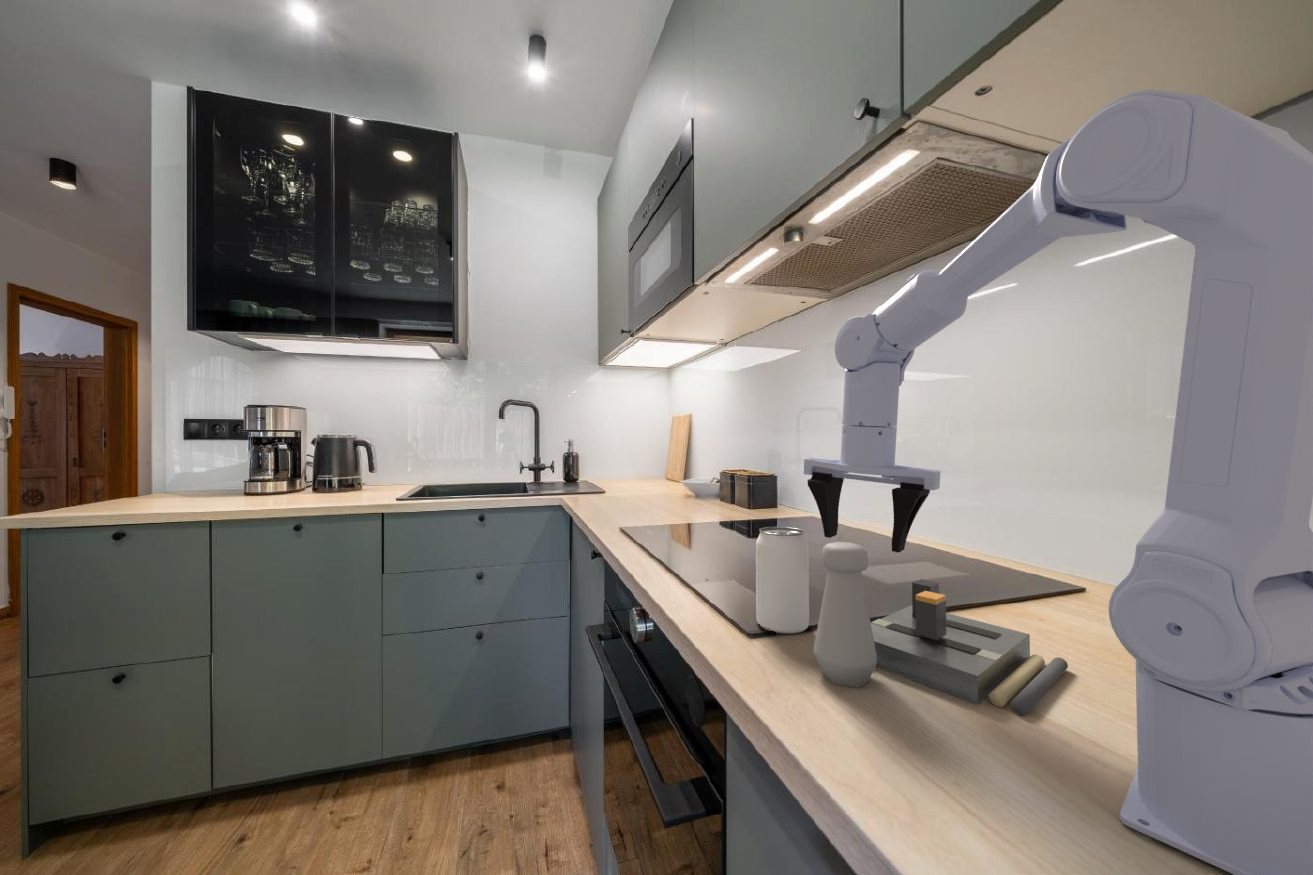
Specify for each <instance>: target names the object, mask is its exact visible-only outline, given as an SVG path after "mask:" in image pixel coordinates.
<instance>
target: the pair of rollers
mask: <svg viewBox="0 0 1313 875" xmlns="http://www.w3.org/2000/svg"><path fill="white" fill-rule="evenodd" d="M1045 664H1046V660H1045V658H1043V657H1042V656H1041V655H1039V654H1031V655H1030V658H1028V659H1027V660H1026V661H1025V662H1024V663H1023V664H1022V665H1021V666H1020V667H1018V668H1017V669H1016V670H1015V671H1014V672H1013V673H1012V674H1011V675H1010V676H1008V677H1007V678H1006V679H1005V680H1004V681H1003V682H1002V683H1001V684H1000V685H998V686H997V687H996V688H995V689H994V690H993V691H992V692H991V693H990V694H989V695H988V699H989V702H990V703H991V704H992V705H993V706H995V707H997V708H1003V707H1004V706H1005V705H1007V703H1008V702H1009V701H1010V700H1011V699H1012V698H1013V697H1014V696H1015V695H1016V694H1017V693H1018V692H1019V694H1017V695H1016V696H1015V697H1014V698H1013V699H1012V700H1011V701H1010V707H1011V710H1012V711H1013V712H1014V713H1015V714H1017V715H1019V716H1026V715H1027V714H1028V713H1029V712H1030V711H1031V710H1032V709H1033V708H1034V706H1036V704H1037V703H1038V702H1039V700H1040V699H1042V697H1043V696H1044V695H1045V694H1046V693H1047V692H1048V691H1049V690H1050V688H1051V687H1052V686H1053V685H1054V684H1055V683H1056V682H1057V680H1058V679H1059V678H1060V677H1061V676H1062V675H1063V674H1064V672H1065V671H1066V670H1067V669H1068V667H1069V664H1068V661H1066V659H1064V658H1063V657H1060V656H1059V657H1058V656H1057V657H1054V658H1053V659H1052V660H1050V662H1049V663H1048V664H1047V665H1046V666H1045ZM1044 666H1045V667H1044ZM1043 667H1044V668H1043ZM1042 668H1043V669H1042ZM1041 669H1042V670H1041ZM1040 670H1041V671H1040ZM1038 672H1039V673H1038ZM1037 673H1038V674H1037ZM1036 674H1037V675H1036ZM1035 675H1036V676H1035ZM1034 676H1035V677H1034ZM1032 678H1033V679H1032ZM1031 679H1032V680H1031ZM1029 681H1030V682H1029ZM1028 682H1029V683H1028ZM1027 683H1028V684H1027ZM1026 684H1027V685H1026ZM1025 685H1026V686H1025ZM1024 686H1025V687H1024ZM1023 687H1024V688H1023ZM1022 688H1023V689H1022ZM1021 689H1022V690H1021Z"/></svg>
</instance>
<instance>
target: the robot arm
mask: <svg viewBox="0 0 1313 875" xmlns="http://www.w3.org/2000/svg"><path fill="white" fill-rule="evenodd" d="M1126 216H1127V217H1130V218H1135V219H1140V220H1141V221H1143V222H1144V223H1146V224H1149V225H1152V226H1155V227H1158V228H1159V229H1162V230H1164V231H1166V232H1168V233H1170V234H1172V235H1174V236H1176V237H1178V238H1181V239H1183V240H1184V241H1187V242H1188V243H1190V244H1192V245H1193V247H1194V250H1195V251H1194V258H1193V265H1192V266H1193V267H1192V275H1191V281H1190V282H1191V284H1190V291H1189V299H1188V308H1187V309H1188V310H1187V316H1186V317H1187V318H1186V325H1185V326H1186V327H1185V333H1184V341H1183V342H1184V343H1183V350H1182V359H1181V368H1180V376H1179V385H1178V392H1177V393H1178V394H1177V400H1176V401H1177V402H1176V409H1175V417H1174V418H1175V419H1174V425H1173V426H1174V427H1173V435H1172V443H1171V450H1170V451H1171V452H1170V459H1169V468H1168V470H1169V471H1168V478H1167V484H1166V486H1167V487H1166V494H1165V502H1164V508H1163V510H1162V511H1161V513H1160V514H1159V516H1158V517H1157V519H1156V520H1155V521H1154V522H1153V523H1152V524H1151V525H1150V527H1149V528H1148V529H1147V530H1146V532H1144V534H1143V535H1142V537H1141V538H1140V539H1139V541H1138V542H1137V544H1136V546H1135V552H1134V553H1135V554H1134V560H1133V565H1132V567H1131V569H1130V571H1129V572H1128V574H1127V575H1126V577H1125V578H1124V579H1122V581H1121V582H1120V583H1118V584H1117V585H1116V586H1115V587H1114V589H1113V591H1112V592H1111V595H1110V598H1109V602H1108V617H1109V621H1110V624H1111V627H1112V631H1113V632H1114V635H1115V636H1116V638H1117V639H1118V641H1119V643H1121V645H1122V646H1123V648H1124V649H1125V650H1126V652H1128V654H1129V655H1130V656H1131V657H1133V658H1134V659H1135V692H1136V694H1135V696H1136V697H1135V698H1136V739H1137V740H1136V742H1137V743H1136V745H1137V767H1136V770H1135V773H1134V774H1133V778H1132V780H1131V783H1130V785H1129V789H1128V791H1127V794H1126V796H1125V799H1124V801H1123V803H1122V806H1121V809H1120V811H1119V820H1120V821H1121V822H1122V823H1123V824H1124V825H1126V826H1127V827H1128V828H1131V829H1133V830H1135V831H1137V832H1139V833H1142V834H1144V835H1146V836H1148V837H1151V838H1153V839H1155V840H1157V841H1159V842H1162V843H1164V844H1166V845H1168V846H1170V847H1173V848H1175V849H1177V850H1179V851H1181V852H1183V853H1185V854H1188V855H1190V856H1193V857H1195V858H1197V859H1199V860H1201V861H1204V862H1205V863H1207V864H1210V865H1212V866H1214V867H1216V868H1219V869H1220V870H1222V871H1225V872H1228V873H1229V874H1231V875H1313V531H1312V528H1311V527H1310V518H1311V511H1312V504H1313V153H1312V152H1310V150H1308V149H1307V148H1305V147H1304V146H1303V145H1301V144H1300V143H1299V142H1297V141H1296V140H1295V139H1293V138H1292V137H1291V136H1290V134H1289V132H1288V131H1287V130H1285V129H1282V128H1280V127H1278V126H1272V125H1270V124H1267V123H1265V122H1263V121H1260V120H1258V119H1256V118H1253V117H1250V116H1248V115H1245V114H1244V113H1241V112H1240V111H1236V110H1234V109H1232V108H1229V107H1227V106H1226V105H1224V104H1222V103H1220V102H1217V101H1215V100H1213V99H1211V98H1208V97H1206V96H1203V95H1198V94H1192V93H1185V92H1178V91H1177V92H1176V91H1172V90H1171V91H1168V90H1164V89H1163V90H1161V89H1145V90H1138V91H1134V92H1131V93H1128V94H1126V95H1123V96H1121V97H1119V98H1117V99H1115V100H1113V101H1111V102H1110V103H1108V104H1106V105H1105V106H1103V107H1101V108H1100V109H1099V110H1098V111H1096V112H1095V113H1093V115H1091V116H1090V117H1089V118H1088V119H1087V120H1086V121H1084V123H1083V124H1082V125H1081V126H1080V127H1079V128H1078V129H1077V131H1075V133H1074V135H1073V134H1072V137H1070V138H1068V139H1067V140H1065V141H1064V142H1063V143H1060V144H1059V145H1058V146H1056V147H1055V148H1054V149H1053V150H1052V151H1050V152H1049V153H1048V154H1047V156H1046V158H1045V160H1044V162H1043V165H1042V166H1041V169H1040V171H1039V173H1038V175H1037V178H1036V180H1035V181H1034V183H1033V184H1032V185H1031V187H1029V188H1028V189H1027V190H1026V191H1025V192H1024V193H1023V194H1022V195H1021V196H1020V197H1019V198H1017V199H1016V201H1014V202H1013V203H1012V204H1011V205H1010V206H1009V207H1008V208H1007V209H1005V211H1004V212H1002V214H1000V215H999V216H998V217H997V218H996V219H995V220H993V222H992V223H991V224H990V225H988V227H987V228H985V229H984V230H983V231H982V232H981V233H980V234H979V235H978V236H977V237H976V238H975V239H973V241H971V243H969V244H968V245H967V246H966V247H965V248H964V249H962V251H961V252H960V253H959V254H958V255H957V256H955V257H954V258H953V259H952V260H951V261H950V262H949V263H948V264H946V266H945V267H944V268H943V269H941V270H939V269H938V270H937V269H925V270H922V271H921V272H920V273H919V272H918V273H917V272H915V273H914V274H912V276H910V277H909V278H908V279H907V280H906V285H904V286H903V287H901V289H899V290H898V291H897V292H896V293H895V294H894V295H893V296H891V297H890V298H889V299H888V300H886V301H885V302H884V304H882V305H880V306H878V307H877V308H876V309H874V311H873V313H867V314H865V315H864V316H853V317H850V318H848V320H846V322H845V323H844V325H842V326H841V328H840V330H839V331H838V333H837V335H836V339H835V343H834V355H835V356H834V357H835V359H836V361H837V363H838V364H839V365H840V367H841V368H843V369H844V386H843V387H844V388H843V402H842V403H843V405H842V423H841V424H842V425H841V426H842V427H841V428H842V429H841V441H840V442H841V443H840V444H841V446H840V460H839V459H826V458H813V457H811V458H804V459H803V475H808V476H811V477H810V478H809V479H807V487H808V488H809V490H810V492H811V494H812V496H813V499H814V502H815V503H816V505H817V508H818V509H817V510H818V511H819V514H820V520H821V524H822V528H823V530H822V531H823V534H824V538H830V539H831V538H833V537H835V536H837V535H838V529H839V509H840V508H839V506H840V499H841V493H842V488H843V483H844V480H845V479H848V480H856V481H864V482H871V483H880V484H888V485H897V486H899V487H894V488H892V489H891V496H892V498H891V499H892V507H893V509H892V510H893V511H892V513H893V528H892V536H891V552H893V553H901V552H903V551H904V550H905V548H906V547H905V546H906V543H907V539H908V536H909V532H910V530H911V527H912V525H913V523H914V520H915V518H916V517H917V515H918V513H919V511H920V509H921V507H922V506H923V504H924V502H926V500H927V498H928V497H929V495H930V492H931V491H936V490H938V489H940V484H941V483H940V482H941V470H937V469H929V468H928V469H927V468H919V467H912V466H905V465H897V464H895V462H896V448H897V435H898V434H897V431H898V414H899V413H898V411H899V397H900V387H901V385H902V384H903V382H904V381H905V371H906V369H907V366H908V365H909V363H910V362H911V361H912V359H913V357H914V353H915V349H916V348H918V347H920V346H921V345H923V344H924V343H926V341H928V340H929V339H931V338H932V337H934V336H935V335H937V334H938V333H939V332H941V331H942V330H944V329H945V328H946V327H947V328H948V327H949V325H951V324H953V323H954V322H956V321H957V320H958V319H960V318H962V317H963V315H964V314H965V312H966V309H967V304H968V299H969V297H970V296H972V295H973V294H974V293H976V292H978V291H979V290H981V289H982V288H984V287H986V286H987V285H989V284H990V283H992V282H994V281H995V280H997V279H998V278H1000V277H1001V276H1003V275H1004V274H1006V273H1008V272H1009V271H1011V270H1012V269H1014V268H1015V267H1016V266H1018V265H1020V264H1021V263H1023V262H1025V261H1027V260H1028V259H1029V258H1031V257H1032V256H1034V255H1035V254H1037V253H1039V252H1040V251H1042V250H1044V249H1045V248H1046V247H1047V248H1048V246H1050V245H1051V244H1053V243H1054V242H1056V241H1058V240H1060V239H1062V238H1067V237H1068V238H1069V237H1079V236H1088V235H1097V234H1098V235H1099V234H1110V233H1118V232H1124V231H1126V230H1127V229H1128V228H1127V226H1128V225H1127V218H1126ZM850 473H851V474H850ZM852 473H853V474H852ZM869 475H871V476H869ZM878 476H881V477H878Z"/></svg>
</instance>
